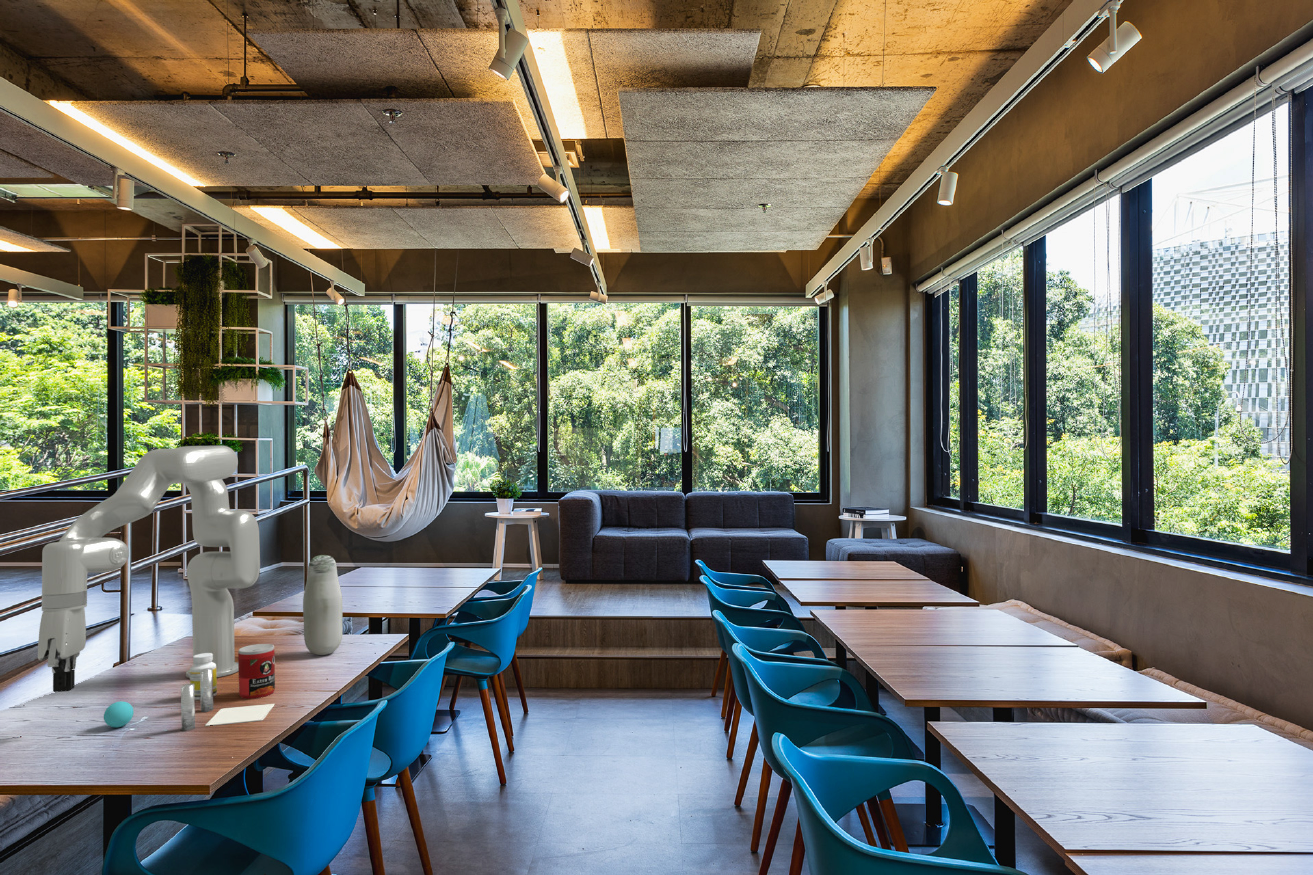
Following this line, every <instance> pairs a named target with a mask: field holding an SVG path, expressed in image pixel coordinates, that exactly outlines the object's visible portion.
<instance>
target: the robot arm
mask: <svg viewBox="0 0 1313 875" xmlns="http://www.w3.org/2000/svg"><path fill="white" fill-rule="evenodd" d="M238 465H239V460H238V455H237V454H236V451H234V449H232V448H231V447H229V446H228V445H187V446H185V445H184V446H179V447H176V448H157V449H152V450H149V451H148V452H146V453H145V454H143V455H142V457H141V458H140V459H139V460H138V462H137V463H136V464H135V466H134V467H133V469H132V470H131V472H130V473H129V474H128V476H127V477H125V479H124V481H123V482H122V483H121V484H120V486H119V487H118V489H117V490H116V491H115V493H113V495H111V496H110V497H108V498H106V499H105V500H103V501H101V502H100V503H97V505H95V506H94V507H93V506H92V508H90V509H89V510H87V511H86V512H84V513H83V514H82V515H80V516H79V517H78V518H76V520H75V521H73V522H72V524H71V525H70V526H69V527H68V528H67V530H66V531H65V532H64V534H63V535H61V538H60V539H59V540H58V541H57V542H56V541H55V542H50V543H47V544H46V545H44V547H43V548H42V554H41V555H42V558H41V560H42V562H41V563H42V565H41V611H42V613H41V618H40V622H39V630H38V640H37V641H38V642H37V646H38V647H37V659H38V660H39V661H45V660H47V667H48V668H51V672H52V692H54V693H60V692H70V691H72V690H73V689H75V686H76V685H75V678H76V677H75V673H76V672H75V669H76V667H77V666H76V665H77V658H78V657H79V656H80V654H81V651H83V650H84V649H85V648H86V641H87V624H86V623H87V622H86V611H85V608H87V606H88V574H89V573H109V572H110V573H111V572H114V571H117V570H118V569H120V568H122V567H123V566H124V565H125V564H126V562H127V561H128V559H129V557H130V551H129V547H128V545H127V544H126V543H125V542H124V541H122V540H121V539H118V538H115V537H104V536H105V535H107V534H108V533H110V532H111V531H113V530H115V529H117V528H119V527H122V526H124V525H128V524H130V523H134V522H136V521H138V520H140V519H143V518H145V517H147V516H149V515H150V514H152V512H154V509H155V508H156V507H157V505H158V503H159V502H160V501H161V499H162V498H163V496H164V495H165V493H166V492H167V490H168V489H169V488H170V486H171V485H173V484H174V485H175V484H184V485H185V486H186V488H187V489H188V491H189V493H190V494H189V495H190V498H191V499H190V500H191V517H192V518H191V519H192V521H191V522H192V524H191V525H192V536H193V540H194V542H195V543H196V544H197V545H199V546H202V547H210V548H211V547H213V548H226V547H228V548H229V550H230V551H205V552H204V551H203V552H201V553H198V554H196V555H194V557H192V558H191V559H190V560H189V562H188V564H187V566H186V567H187V568H186V577H187V582H188V585H189V588H190V590H189V591H190V595H191V606H192V607H191V612H192V613H191V614H192V616H191V617H192V620H191V621H192V622H191V623H192V628H191V629H192V657H193V656H195V655H198V654H203V653H212V654H213V660H212V662H213V663H215V664H216V675H217V678H220V677H225V676H229V675H233V674H235V673H237V672H238V673H239V669H238V661H237V662H236V660H235V659H236V657H235V656H236V654H235V652H236V651H235V605H234V599H233V597H232V594H231V593H230V591H229V589H246V588H247V589H248V588H250V587H252V586H253V585H254V584H255V583H256V582H257V580H258V579H259V576H260V570H261V557H260V556H261V555H260V554H261V553H260V552H261V551H260V528H259V523H258V521H257V518H256V516H254V514H252V513H251V512H250V511H247V510H243V509H235V510H234V509H230V508H231V507H230V503H229V502H230V501H229V491H228V487H227V485H226V484H225V482H224V479H228V478H229V477H231V476H233V475H234V474H235V472H236V471H237V468H238ZM193 665H194V663H193V662H192V666H193ZM185 676H186V678H187V679H190V668H189V669H188V670H186V674H185Z"/></svg>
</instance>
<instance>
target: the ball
mask: <svg viewBox="0 0 1313 875" xmlns="http://www.w3.org/2000/svg"><path fill="white" fill-rule="evenodd" d="M134 710H135V709H134V707H133V705H132V704H130V703H129V702H128V701H127V702H126V701H121V700H120V701H115V702H113V703H112V704H110V705H108V707H107V708H106V709H105V711H104V713H103V720H104V723H105V724H106V725H107V726H108V727H110V728H122V727H124V726H126V725H127V724H129V723H130V722H131V721H132V719H133V717H134V713H135V712H134Z"/></svg>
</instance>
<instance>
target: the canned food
mask: <svg viewBox="0 0 1313 875" xmlns="http://www.w3.org/2000/svg"><path fill="white" fill-rule="evenodd" d="M237 653H238V654H237V658H238V660H237V662H238V669H239V671H238V694H239V697H240V698H242V699H245V700H255V699H260V698H261V697H262V698H264V697H265V698H266V697H269V696H271V695H273V693H275V690H276V689H275V688H276V679H275V678H276V677H275V676H276V672H275V670H276V669H275V668H276V666H275V664H276V663H275V661H276V660H275V659H276V658H275V653H276V652H275V644H271V643H258V644H250V645H247V646H243V647H241V648H239V649H238V652H237ZM268 695H269V696H268Z"/></svg>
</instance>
